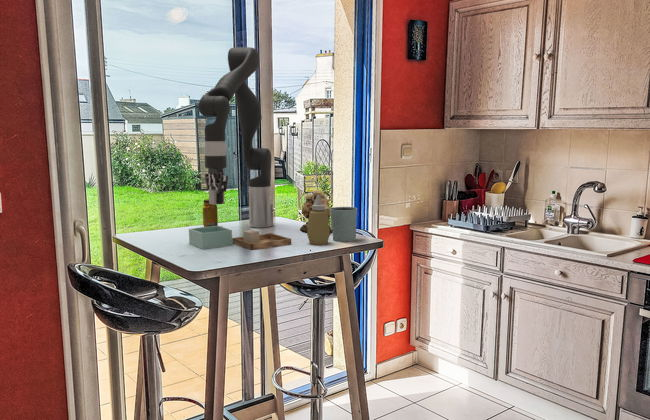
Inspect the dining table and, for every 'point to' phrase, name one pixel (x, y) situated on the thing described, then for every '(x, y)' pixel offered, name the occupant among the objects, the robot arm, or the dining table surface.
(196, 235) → the teal bin
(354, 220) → the grey green cup
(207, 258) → the dining table surface
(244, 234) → the beige matte cube
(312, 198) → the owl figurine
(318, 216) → the squeeze bottle
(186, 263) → the dining table surface
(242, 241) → the walnut tray
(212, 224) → the condiment
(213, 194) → the grey brown block
